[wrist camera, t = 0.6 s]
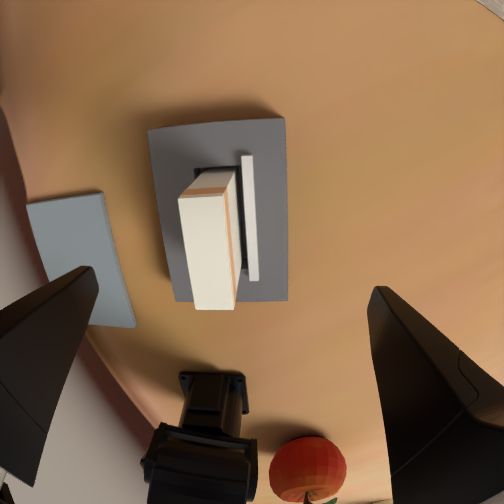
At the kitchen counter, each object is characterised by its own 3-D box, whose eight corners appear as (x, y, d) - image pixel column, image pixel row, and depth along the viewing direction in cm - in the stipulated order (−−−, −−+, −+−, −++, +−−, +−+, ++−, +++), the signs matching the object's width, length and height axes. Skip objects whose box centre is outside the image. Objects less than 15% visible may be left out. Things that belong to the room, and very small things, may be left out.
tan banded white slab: (243, 253, 22) (233, 310, 16) (214, 253, 22) (195, 309, 16) (237, 166, 19) (222, 195, 13) (205, 168, 19) (177, 198, 13)
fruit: (254, 439, 34) (250, 509, 25) (325, 418, 31) (332, 494, 22) (290, 463, 37) (290, 522, 28) (352, 445, 34) (361, 508, 26)
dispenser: (286, 285, 23) (288, 305, 21) (182, 286, 24) (173, 305, 22) (283, 117, 18) (285, 119, 16) (158, 127, 18) (144, 131, 16)
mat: (137, 324, 26) (135, 328, 25) (68, 318, 27) (65, 322, 26) (103, 192, 21) (99, 194, 20) (30, 203, 21) (25, 205, 21)
